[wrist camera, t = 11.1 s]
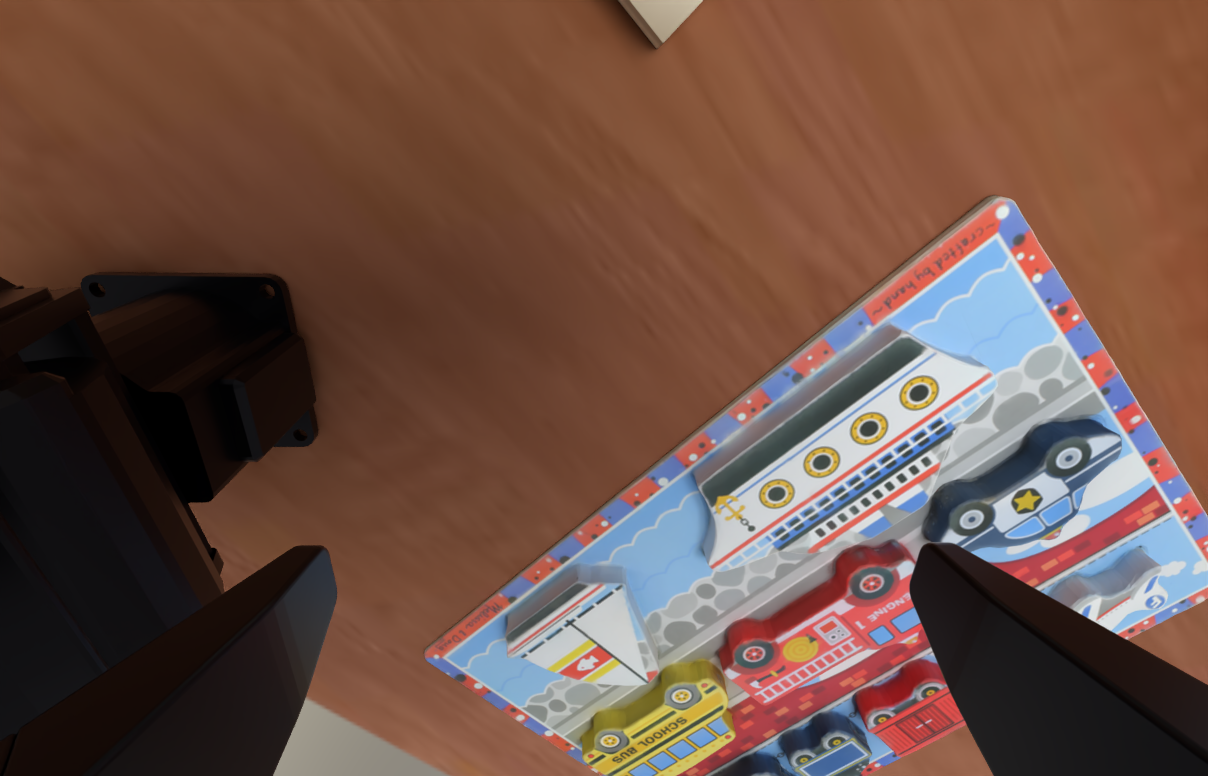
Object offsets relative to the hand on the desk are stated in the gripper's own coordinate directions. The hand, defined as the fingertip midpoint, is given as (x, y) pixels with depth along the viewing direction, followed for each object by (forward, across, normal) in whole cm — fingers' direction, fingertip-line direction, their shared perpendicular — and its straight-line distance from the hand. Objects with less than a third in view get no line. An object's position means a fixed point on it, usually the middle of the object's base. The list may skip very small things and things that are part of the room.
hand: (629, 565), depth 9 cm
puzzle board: (+14, -10, +14) cm, 23 cm away
